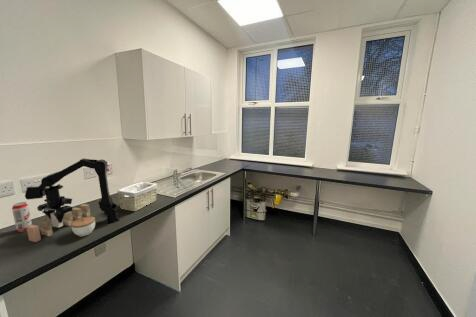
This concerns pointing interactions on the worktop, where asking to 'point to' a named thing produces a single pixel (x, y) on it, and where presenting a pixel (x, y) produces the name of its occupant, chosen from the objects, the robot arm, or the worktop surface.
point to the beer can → (21, 216)
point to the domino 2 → (55, 221)
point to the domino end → (33, 233)
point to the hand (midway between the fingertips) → (57, 221)
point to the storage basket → (137, 196)
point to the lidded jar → (83, 226)
